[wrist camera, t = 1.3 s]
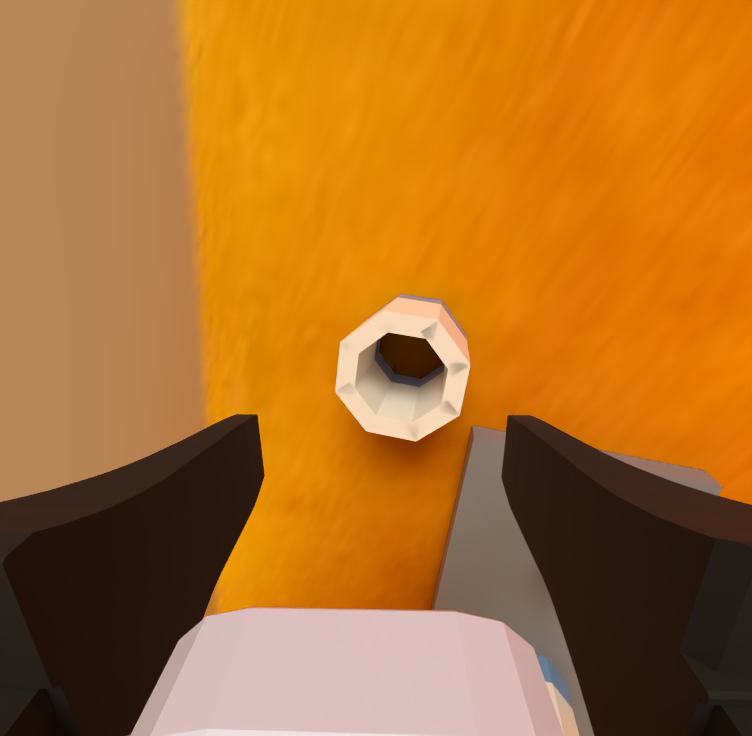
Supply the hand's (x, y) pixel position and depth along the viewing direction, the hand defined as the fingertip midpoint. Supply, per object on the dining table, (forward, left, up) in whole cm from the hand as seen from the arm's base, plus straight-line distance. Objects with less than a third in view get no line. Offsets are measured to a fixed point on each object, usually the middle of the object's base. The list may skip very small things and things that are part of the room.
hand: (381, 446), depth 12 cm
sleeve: (0, 0, -11) cm, 11 cm away
